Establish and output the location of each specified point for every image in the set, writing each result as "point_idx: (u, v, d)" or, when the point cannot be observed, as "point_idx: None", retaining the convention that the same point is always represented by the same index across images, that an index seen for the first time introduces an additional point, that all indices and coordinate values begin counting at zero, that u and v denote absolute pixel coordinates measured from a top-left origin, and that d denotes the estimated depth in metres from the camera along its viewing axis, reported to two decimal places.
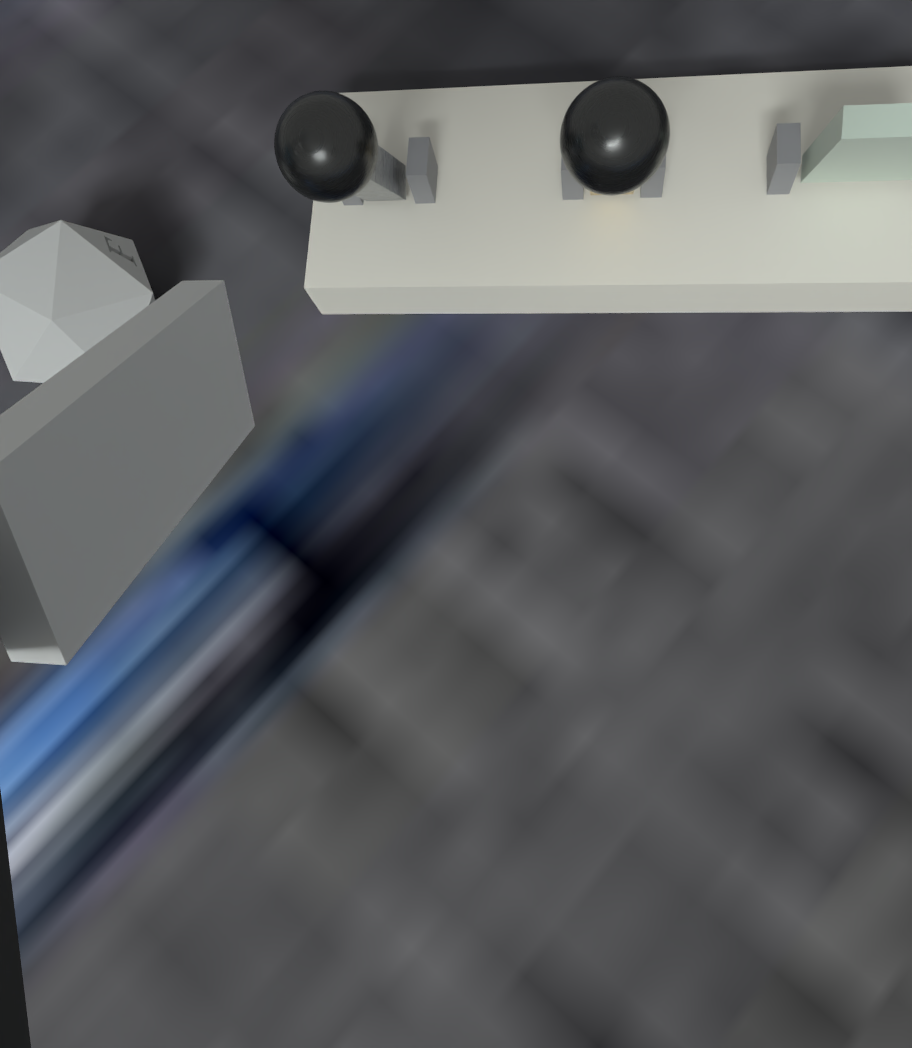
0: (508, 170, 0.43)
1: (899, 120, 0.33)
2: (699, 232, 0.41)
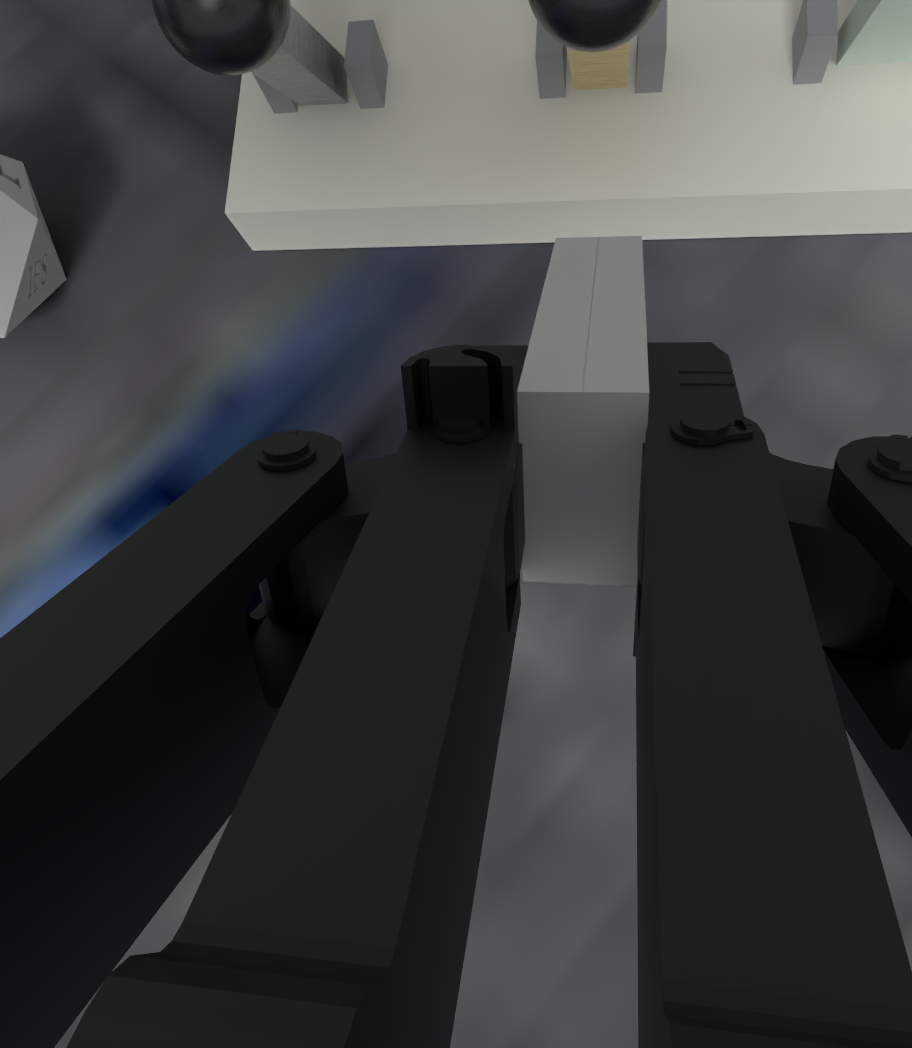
0: (474, 65, 0.35)
1: None
2: (709, 133, 0.33)
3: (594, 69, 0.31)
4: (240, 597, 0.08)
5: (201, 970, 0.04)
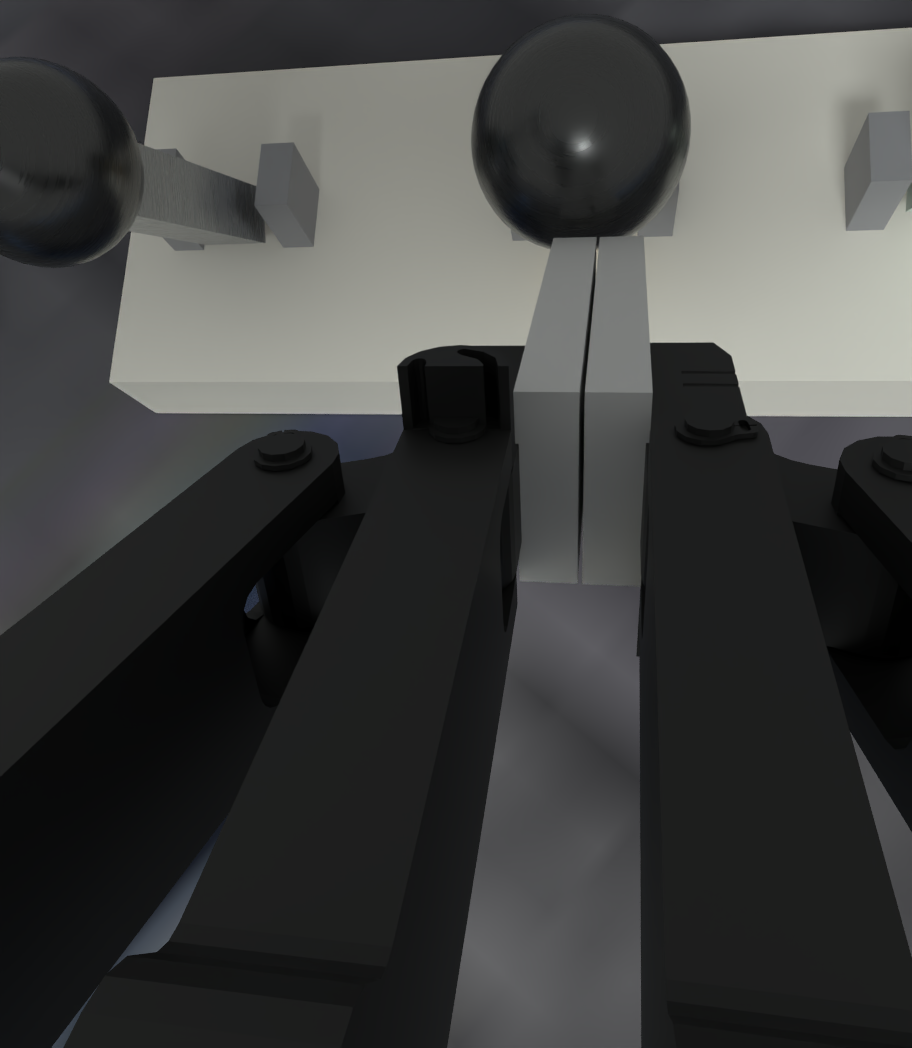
0: (428, 193, 0.27)
1: None
2: (735, 294, 0.25)
3: None
4: (237, 597, 0.08)
5: (197, 969, 0.04)
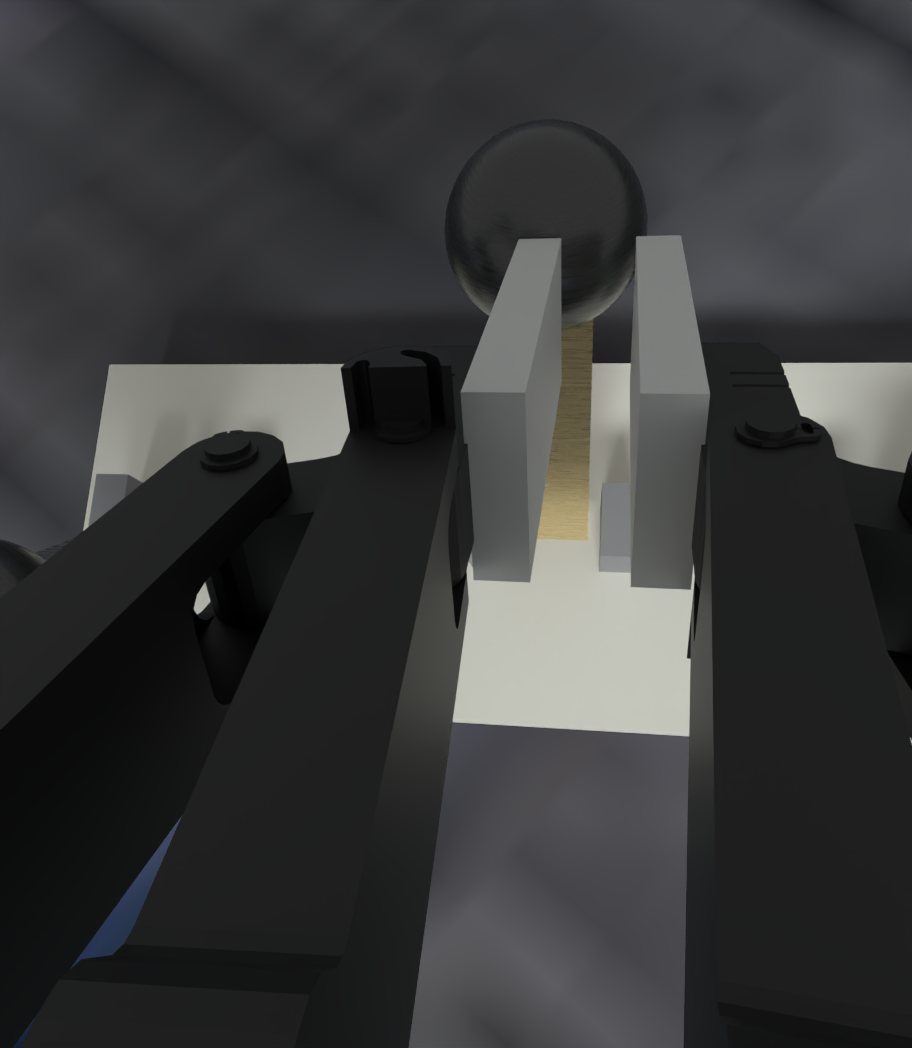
0: None
1: None
2: None
3: None
4: (187, 595, 0.08)
5: (154, 967, 0.04)
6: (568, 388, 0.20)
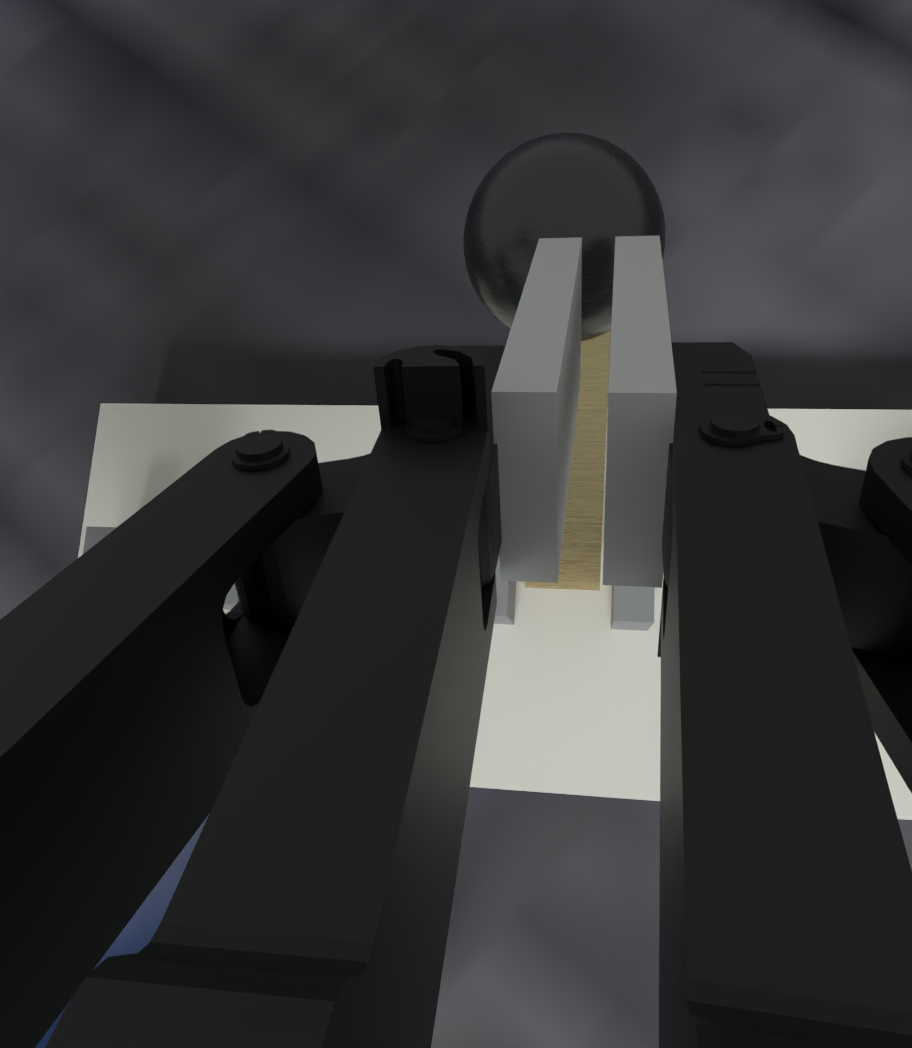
0: None
1: None
2: None
3: None
4: (215, 595, 0.08)
5: (178, 967, 0.04)
6: (584, 412, 0.19)
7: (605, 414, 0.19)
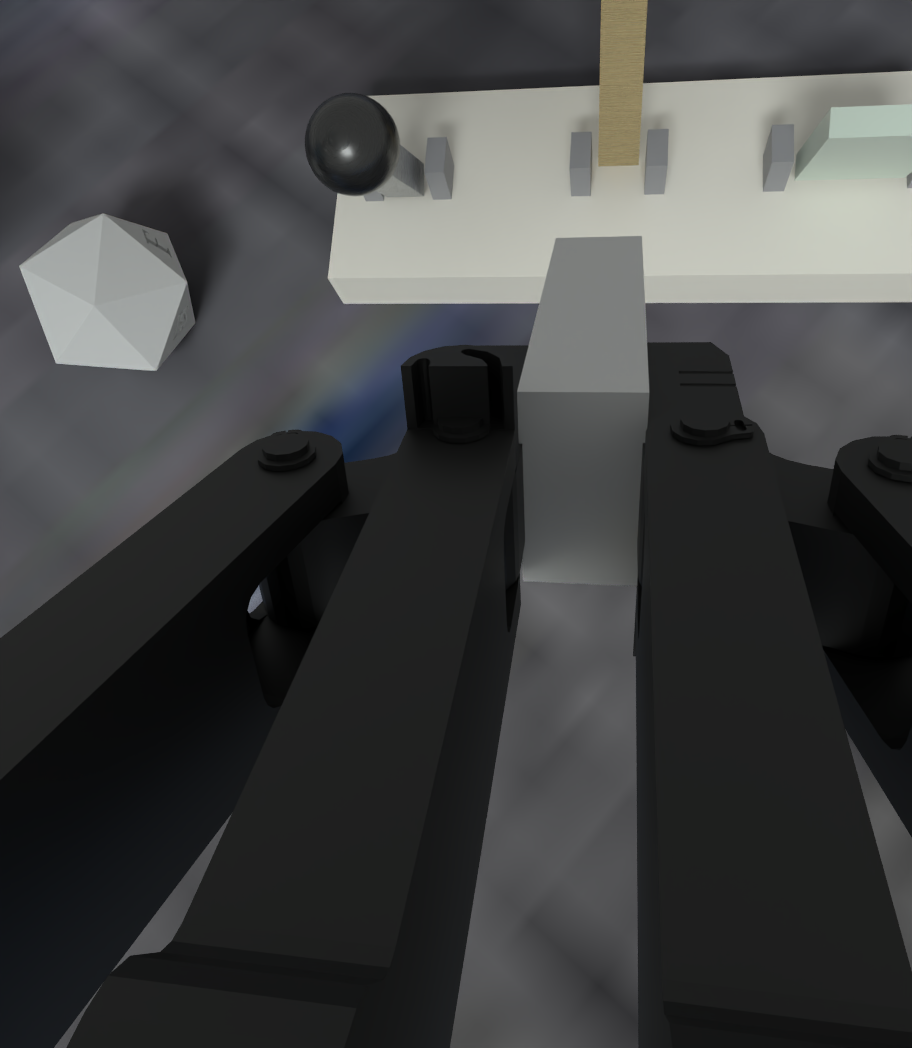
0: (520, 168, 0.46)
1: (882, 121, 0.35)
2: (699, 227, 0.44)
3: (616, 109, 0.42)
4: (240, 597, 0.08)
5: (201, 968, 0.04)
6: (634, 37, 0.39)
7: (644, 38, 0.39)
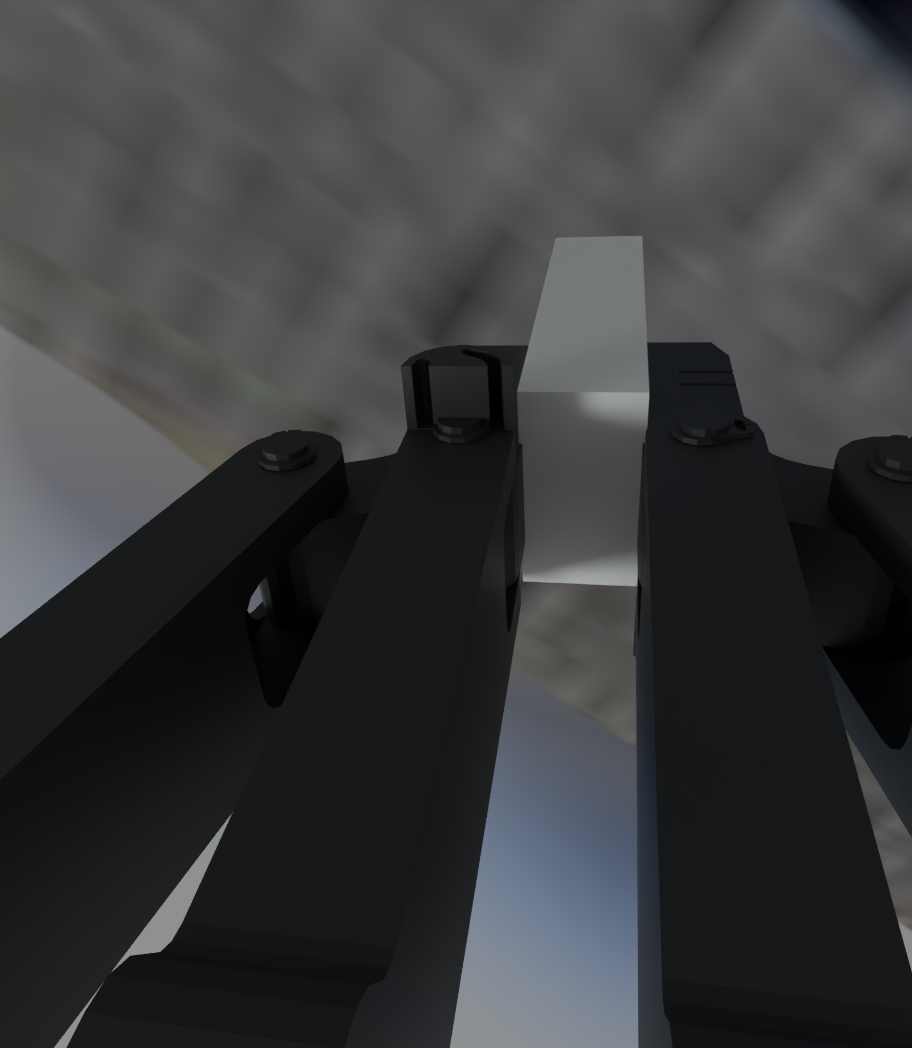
0: None
1: None
2: None
3: None
4: (240, 597, 0.08)
5: (201, 969, 0.04)
6: None
7: None
